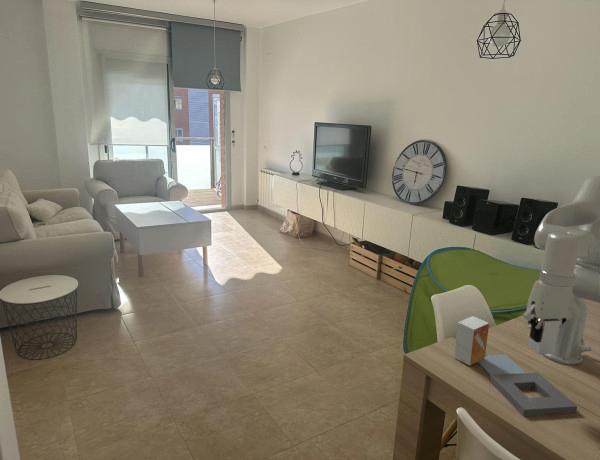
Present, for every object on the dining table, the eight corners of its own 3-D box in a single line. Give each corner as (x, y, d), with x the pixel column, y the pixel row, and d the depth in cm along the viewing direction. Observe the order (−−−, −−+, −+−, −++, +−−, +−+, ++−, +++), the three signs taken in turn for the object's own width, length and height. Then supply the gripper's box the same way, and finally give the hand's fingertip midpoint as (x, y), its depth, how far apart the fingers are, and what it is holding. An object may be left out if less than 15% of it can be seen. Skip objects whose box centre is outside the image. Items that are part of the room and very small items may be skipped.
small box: (470, 366, 138) (474, 329, 134) (453, 357, 143) (456, 321, 139) (485, 358, 142) (489, 322, 139) (468, 350, 147) (472, 315, 144)
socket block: (536, 378, 134) (537, 372, 133) (575, 412, 118) (577, 406, 118) (489, 380, 131) (490, 374, 131) (523, 416, 116) (524, 409, 115)
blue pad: (505, 355, 146) (505, 354, 146) (528, 376, 134) (529, 375, 134) (472, 357, 144) (472, 356, 144) (493, 378, 132) (493, 377, 132)
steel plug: (542, 345, 124) (548, 313, 121) (553, 353, 119) (560, 320, 117) (527, 345, 123) (534, 313, 120) (538, 354, 119) (545, 321, 116)
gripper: (573, 272, 120) (559, 331, 125) (517, 273, 118) (506, 333, 122) (594, 283, 113) (579, 345, 118) (536, 284, 110) (523, 347, 115)
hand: (542, 338), depth 120 cm, fingers closed on steel plug, 4 cm apart
